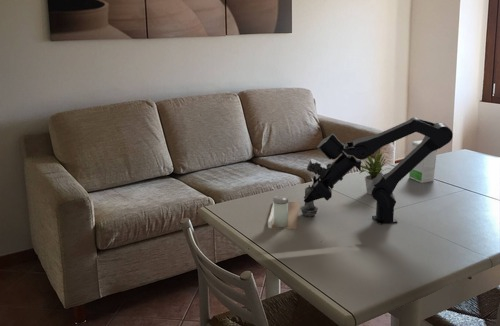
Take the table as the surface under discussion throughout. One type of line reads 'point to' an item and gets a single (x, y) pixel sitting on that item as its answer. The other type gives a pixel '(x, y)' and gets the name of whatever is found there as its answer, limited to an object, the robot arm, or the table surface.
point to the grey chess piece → (308, 205)
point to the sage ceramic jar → (280, 211)
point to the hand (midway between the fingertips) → (305, 199)
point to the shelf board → (291, 216)
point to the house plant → (372, 170)
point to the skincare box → (424, 167)
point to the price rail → (271, 217)
